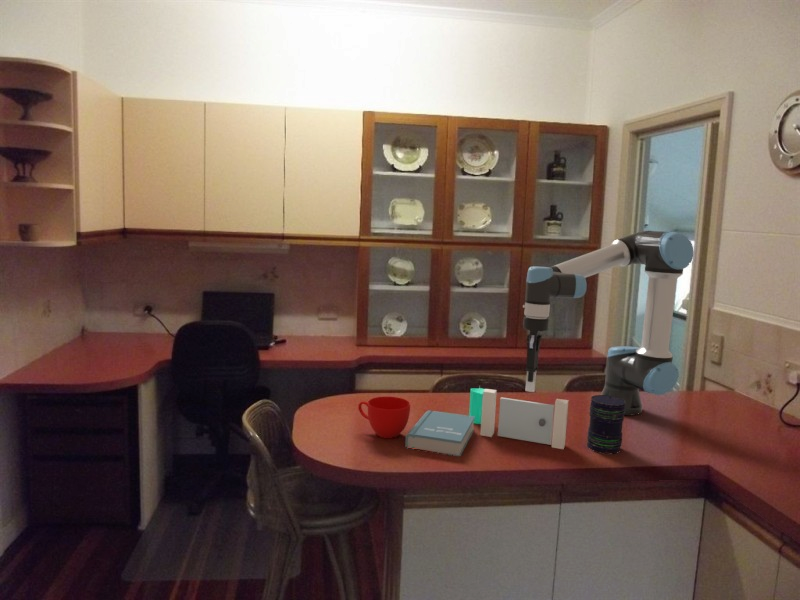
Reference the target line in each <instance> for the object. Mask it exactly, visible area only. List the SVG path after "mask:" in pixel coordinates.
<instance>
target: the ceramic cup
mask: <svg viewBox="0 0 800 600" xmlns="http://www.w3.org/2000/svg"><path fill="white" fill-rule="evenodd" d="M362 405H366V407H367V414H366V413H365V412H364V410H363V409H362ZM358 411H359V414H360V415H361V416H362V417H363V418H365V419H366V420H368V422H369V425H370V427H371V428H372V430H373V431H374V433H375V434H376V435H377V436H378V437H379V436H380V438H382V437H384V438H383V439H393V438H392V437H395V438H397V437H399V436H400V434H401V433H403V431H404V430H405V429H406V426H407V424H408V422H409V419H410V413H411V403H410V401H409V400H407V399H405V398H401V397H396V396H378V397H373V398H370V399H369V400H366V401H365V400H363V401H360V402H359V404H358Z"/></svg>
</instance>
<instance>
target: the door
mask: <svg viewBox="0 0 800 600" xmlns="http://www.w3.org/2000/svg"><path fill="white" fill-rule="evenodd" d="M554 411H555V404H552V403H551V404H549V403H542V402H536V401H528V400H524V399H516V398H515V399H514V398H508V397H502V396H501V397H500V398H499V413H498V427H497V429H498V430H497V437H501V438H502V437H503V438H509V439H512V440H513V439H514V440H519V441H526V442H533V443H537V444H545V445H551V446H552V435H553V423H554Z"/></svg>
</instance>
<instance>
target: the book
mask: <svg viewBox="0 0 800 600" xmlns="http://www.w3.org/2000/svg"><path fill="white" fill-rule="evenodd" d="M474 419H475V416H469V414H468V415H466V414H459V413H452V412H445V411H437V410H433V411H432V410H429V409H428V410H427V411H426V412H425V413H423V415H422V416H421V417H420V418H419V420H418V421H417V422H416V423H415V425H413V427H412V428H411V429H410V430H409V432H408V433H407V434H406V435H405V443H404V444H405V445H404V446H405V448H406V447H411V448H418V449H423V450H429V451H433V452H437V453H436V454H439V453H443V454H442V455H446V454H448V456H452V455H453V456H454V457H458V456H459V457H461V456H462V454H463V452H464V450H465V448H466V447H467V445H468V443H469V441H470V439H471V438H472V435H473V433H474V432H475V429H474V423H473V421H474ZM433 452H432V453H433Z"/></svg>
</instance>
